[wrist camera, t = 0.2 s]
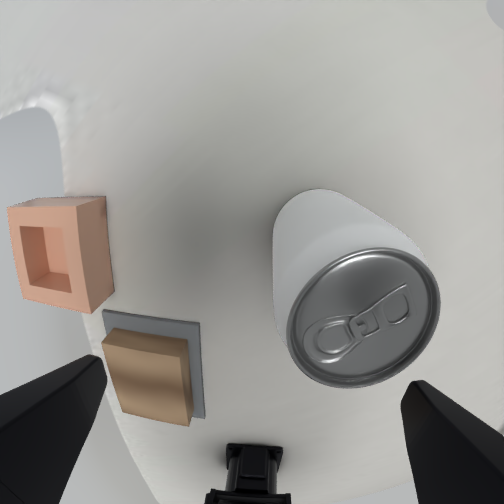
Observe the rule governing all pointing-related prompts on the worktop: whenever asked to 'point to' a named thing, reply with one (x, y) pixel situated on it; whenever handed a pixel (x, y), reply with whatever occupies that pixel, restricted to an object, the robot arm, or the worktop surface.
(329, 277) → the can
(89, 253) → the pink square box
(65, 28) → the worktop surface
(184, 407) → the lid
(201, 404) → the mat
